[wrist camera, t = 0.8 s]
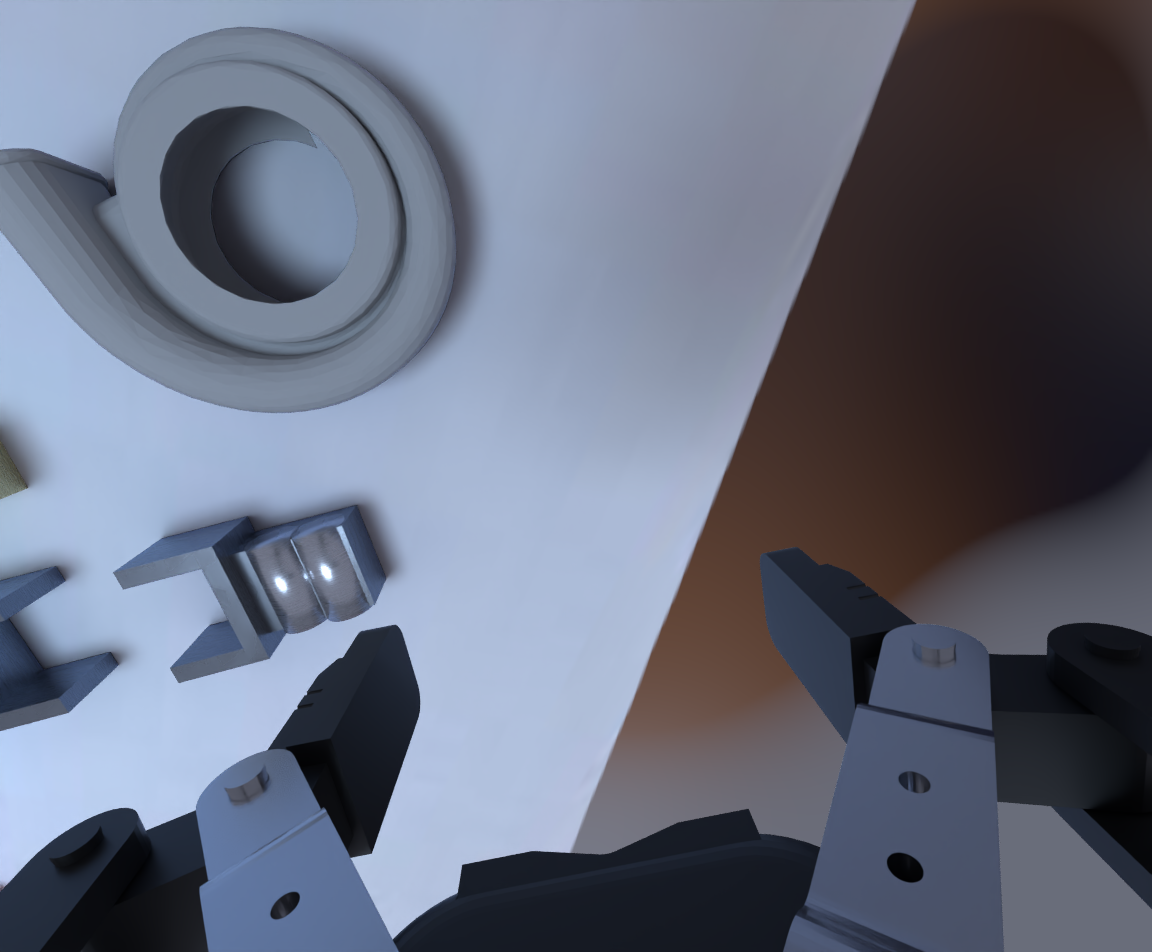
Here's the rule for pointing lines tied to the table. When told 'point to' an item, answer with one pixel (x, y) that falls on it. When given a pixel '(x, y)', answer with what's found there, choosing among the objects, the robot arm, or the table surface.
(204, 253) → the turbocharger housing
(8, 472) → the brass block with pins
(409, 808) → the table surface
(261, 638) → the chain ends
